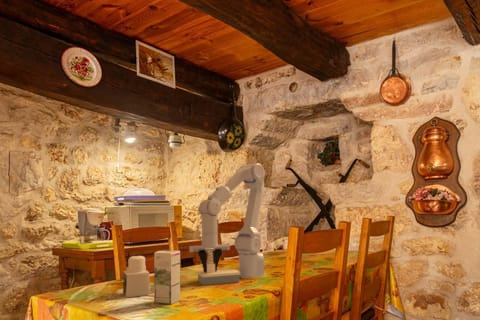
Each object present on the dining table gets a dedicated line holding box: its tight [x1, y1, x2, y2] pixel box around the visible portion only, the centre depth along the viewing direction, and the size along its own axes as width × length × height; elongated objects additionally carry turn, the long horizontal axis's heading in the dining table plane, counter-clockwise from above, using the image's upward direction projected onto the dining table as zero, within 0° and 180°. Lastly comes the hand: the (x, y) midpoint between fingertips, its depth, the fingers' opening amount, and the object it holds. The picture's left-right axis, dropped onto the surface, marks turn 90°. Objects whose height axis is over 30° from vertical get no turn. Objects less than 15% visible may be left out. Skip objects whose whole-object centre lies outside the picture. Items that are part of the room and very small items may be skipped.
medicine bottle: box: [122, 254, 150, 299], centre depth 122 cm, size 7×7×12 cm
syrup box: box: [153, 249, 181, 305], centre depth 112 cm, size 6×6×14 cm
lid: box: [196, 262, 240, 277], centre depth 138 cm, size 14×10×4 cm
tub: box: [197, 274, 240, 287], centre depth 137 cm, size 13×9×3 cm
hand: (210, 271), depth 137 cm, fingers closed on lid, 3 cm apart
